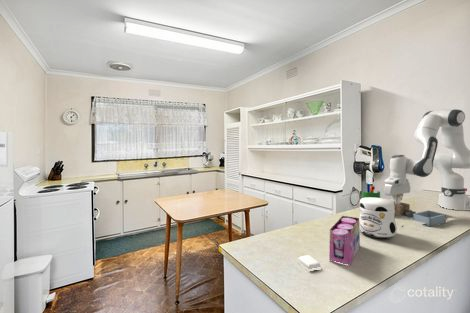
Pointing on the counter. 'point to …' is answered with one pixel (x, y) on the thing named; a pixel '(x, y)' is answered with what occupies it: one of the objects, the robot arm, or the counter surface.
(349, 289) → the counter surface
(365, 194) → the motor
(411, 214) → the bracket
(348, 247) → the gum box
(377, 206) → the milk container
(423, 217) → the tray
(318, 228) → the counter surface
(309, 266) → the soap
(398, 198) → the pin
